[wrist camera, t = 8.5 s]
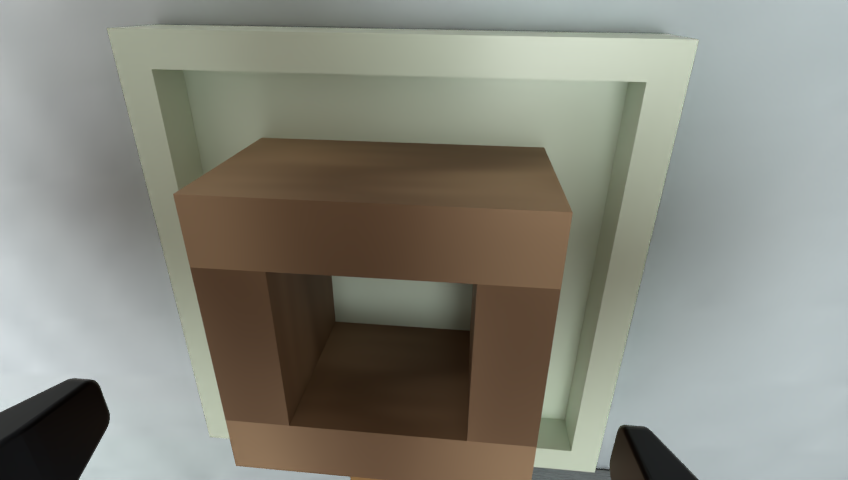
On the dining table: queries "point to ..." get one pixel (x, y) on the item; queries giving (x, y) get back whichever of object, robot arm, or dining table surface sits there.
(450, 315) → the tray
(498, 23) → the dining table surface
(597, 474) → the stake
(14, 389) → the dining table surface
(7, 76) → the dining table surface
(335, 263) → the brown piece
